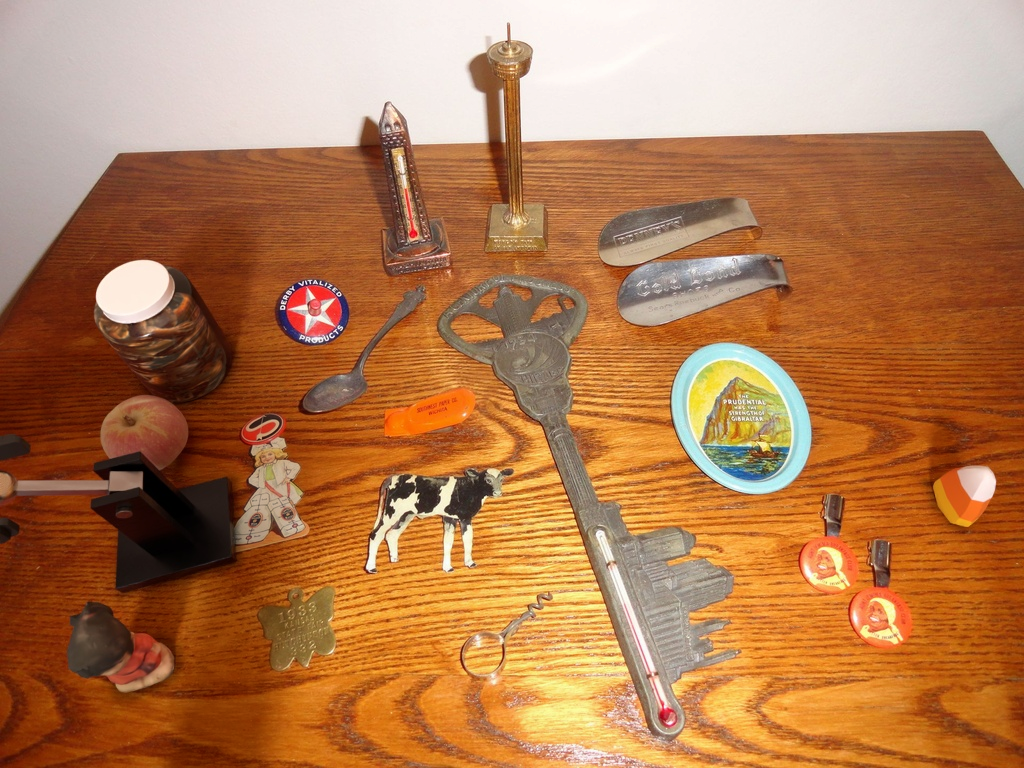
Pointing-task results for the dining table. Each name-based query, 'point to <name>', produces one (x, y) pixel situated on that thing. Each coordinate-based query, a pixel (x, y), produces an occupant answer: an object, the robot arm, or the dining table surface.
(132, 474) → the lever
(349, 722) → the dining table surface
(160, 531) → the bracket
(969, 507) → the candy corn
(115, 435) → the apple
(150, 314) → the jar
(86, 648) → the figurine
